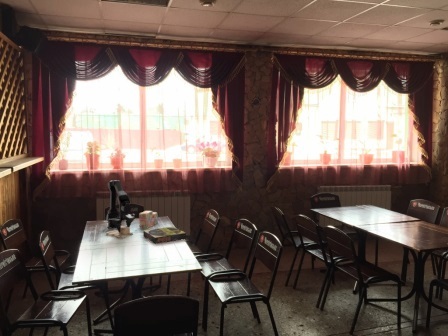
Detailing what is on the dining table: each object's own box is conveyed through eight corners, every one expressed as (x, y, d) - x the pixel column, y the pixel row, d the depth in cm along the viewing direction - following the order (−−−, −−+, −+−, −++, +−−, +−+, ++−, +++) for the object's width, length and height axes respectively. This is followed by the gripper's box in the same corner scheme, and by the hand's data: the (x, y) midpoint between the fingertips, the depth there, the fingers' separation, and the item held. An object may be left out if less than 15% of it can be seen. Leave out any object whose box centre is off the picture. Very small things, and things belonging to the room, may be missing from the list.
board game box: (186, 239, 294) (185, 232, 293) (155, 244, 282) (155, 237, 281) (172, 232, 314) (172, 226, 313) (143, 237, 302) (143, 230, 301)
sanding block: (118, 233, 304) (118, 227, 304) (123, 232, 308) (122, 225, 308) (125, 234, 301) (125, 228, 300) (129, 233, 305) (129, 226, 304)
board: (105, 234, 307) (105, 232, 307) (115, 231, 316) (115, 229, 316) (123, 237, 298) (123, 235, 298) (132, 234, 307) (132, 232, 307)
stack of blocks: (151, 222, 348) (150, 208, 347) (157, 223, 346) (157, 208, 345) (139, 228, 327) (139, 213, 326) (146, 228, 326) (146, 213, 325)
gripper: (122, 214, 291) (123, 235, 292) (139, 209, 307) (140, 229, 309) (111, 212, 296) (111, 233, 298) (128, 208, 313) (129, 228, 314)
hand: (124, 231), depth 304 cm, fingers open, 9 cm apart
